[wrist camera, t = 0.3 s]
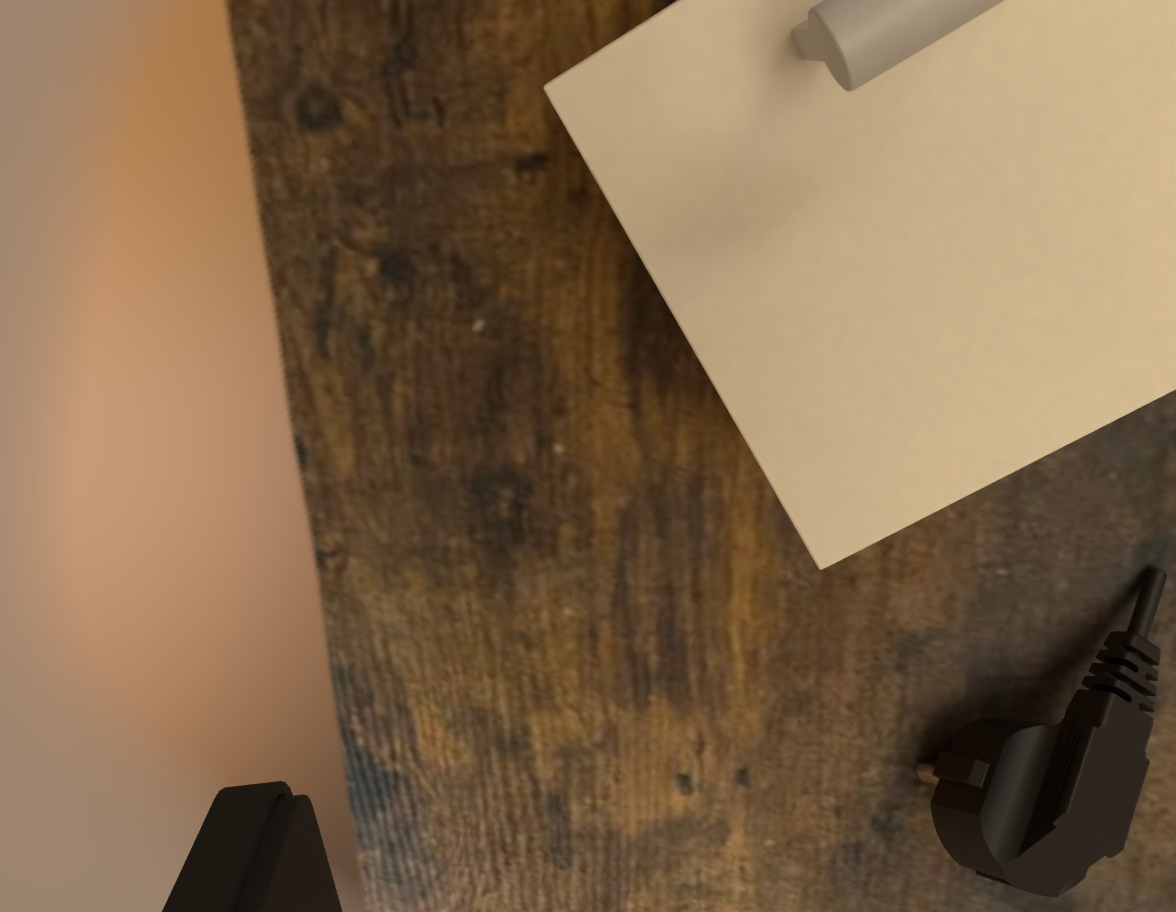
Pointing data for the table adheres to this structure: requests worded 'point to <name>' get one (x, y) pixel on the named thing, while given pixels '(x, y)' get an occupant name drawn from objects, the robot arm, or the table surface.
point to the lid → (899, 230)
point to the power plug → (1054, 772)
